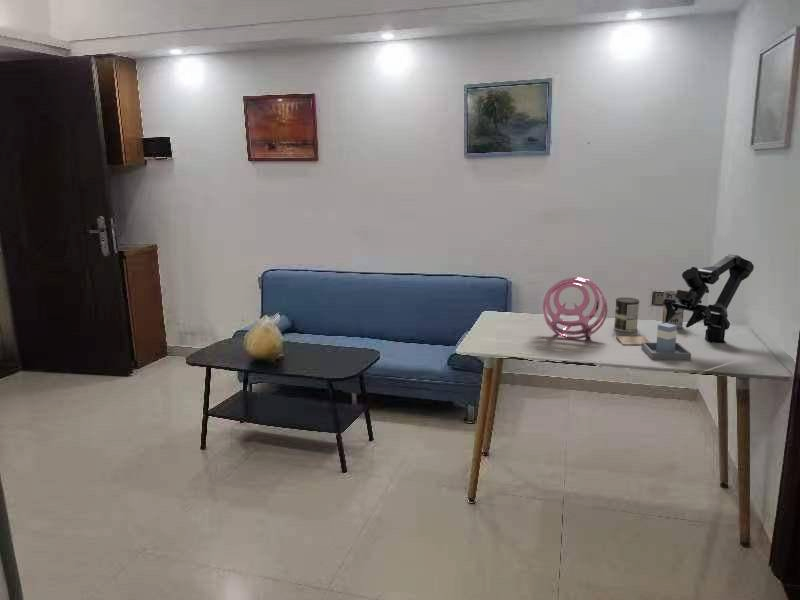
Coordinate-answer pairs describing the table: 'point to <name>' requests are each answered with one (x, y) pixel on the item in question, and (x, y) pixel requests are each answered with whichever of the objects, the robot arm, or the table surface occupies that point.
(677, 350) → the tray
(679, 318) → the coffee box
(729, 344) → the table surface
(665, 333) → the carton
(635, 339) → the pad
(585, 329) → the spiral basket
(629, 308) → the coffee can
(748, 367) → the table surface
